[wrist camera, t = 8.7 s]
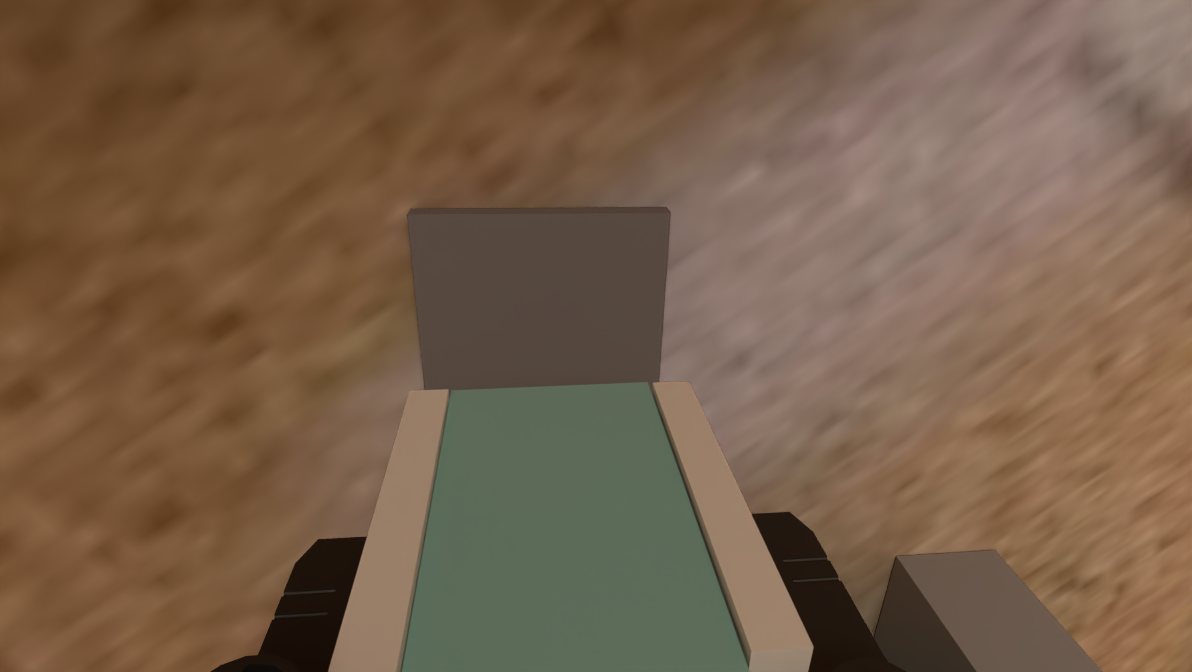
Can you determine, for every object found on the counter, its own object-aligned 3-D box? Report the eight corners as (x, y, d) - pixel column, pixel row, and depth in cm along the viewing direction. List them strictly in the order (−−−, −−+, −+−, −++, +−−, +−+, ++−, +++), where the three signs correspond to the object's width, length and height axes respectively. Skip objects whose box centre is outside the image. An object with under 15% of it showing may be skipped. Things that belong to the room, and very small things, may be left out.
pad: (410, 208, 18) (407, 214, 18) (666, 207, 19) (670, 213, 19) (446, 573, 24) (444, 585, 23) (642, 561, 25) (645, 573, 24)
